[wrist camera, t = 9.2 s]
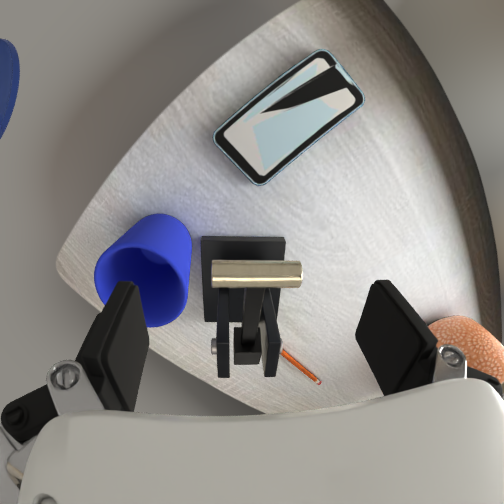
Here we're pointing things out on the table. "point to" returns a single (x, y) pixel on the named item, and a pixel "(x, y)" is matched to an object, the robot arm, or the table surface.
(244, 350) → the lever
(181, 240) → the mug
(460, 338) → the planter
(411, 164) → the table surface
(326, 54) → the smartphone
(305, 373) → the pencil
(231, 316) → the bracket
